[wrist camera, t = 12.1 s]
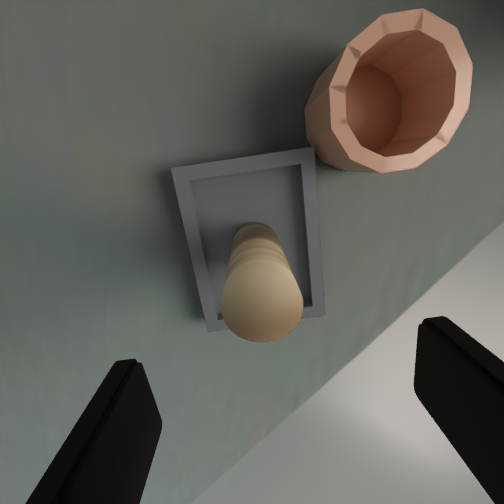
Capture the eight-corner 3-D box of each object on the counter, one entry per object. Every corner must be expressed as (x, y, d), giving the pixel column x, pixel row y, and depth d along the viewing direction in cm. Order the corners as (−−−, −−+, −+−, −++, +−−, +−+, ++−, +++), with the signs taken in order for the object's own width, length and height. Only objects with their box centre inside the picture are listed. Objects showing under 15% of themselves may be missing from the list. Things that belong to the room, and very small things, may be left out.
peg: (228, 225, 25) (213, 275, 14) (275, 218, 25) (299, 263, 14) (236, 268, 26) (228, 347, 15) (280, 262, 26) (306, 336, 15)
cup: (301, 65, 22) (326, 23, 16) (408, 49, 22) (479, -1, 16) (309, 176, 25) (333, 180, 18) (404, 162, 25) (463, 160, 18)
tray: (177, 168, 24) (170, 168, 22) (307, 148, 24) (314, 146, 22) (210, 318, 29) (207, 332, 27) (318, 302, 29) (325, 315, 27)
